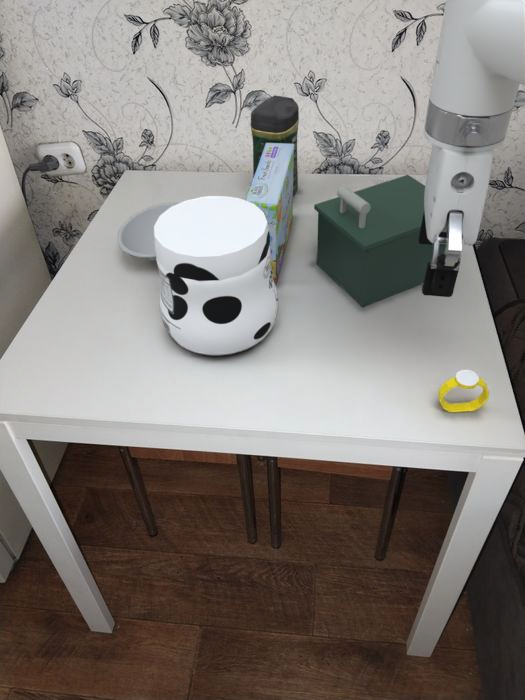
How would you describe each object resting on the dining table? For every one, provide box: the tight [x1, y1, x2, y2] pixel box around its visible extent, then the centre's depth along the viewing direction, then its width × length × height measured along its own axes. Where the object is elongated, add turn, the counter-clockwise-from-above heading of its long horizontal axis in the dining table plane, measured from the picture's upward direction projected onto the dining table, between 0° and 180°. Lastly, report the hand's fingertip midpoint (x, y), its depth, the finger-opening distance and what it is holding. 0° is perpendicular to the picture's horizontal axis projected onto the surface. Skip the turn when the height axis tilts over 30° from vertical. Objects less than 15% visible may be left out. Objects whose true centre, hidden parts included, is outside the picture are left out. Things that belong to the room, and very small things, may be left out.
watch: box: [437, 369, 490, 413], centre depth 75 cm, size 6×3×6 cm, turn 89°
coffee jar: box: [250, 95, 300, 197], centre depth 112 cm, size 10×8×19 cm
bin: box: [316, 212, 446, 308], centre depth 96 cm, size 18×14×11 cm
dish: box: [116, 201, 182, 261], centre depth 104 cm, size 18×14×5 cm
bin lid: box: [313, 174, 426, 251], centre depth 90 cm, size 18×14×5 cm
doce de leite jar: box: [154, 195, 279, 357], centre depth 84 cm, size 17×17×18 cm
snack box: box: [245, 143, 294, 286], centre depth 100 cm, size 21×6×15 cm, turn 171°
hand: (434, 267), depth 67 cm, fingers open, 9 cm apart
